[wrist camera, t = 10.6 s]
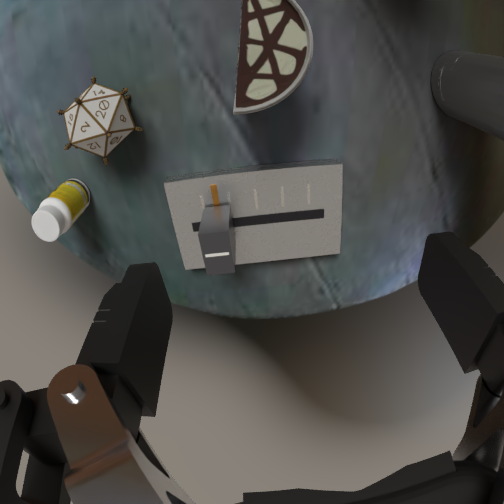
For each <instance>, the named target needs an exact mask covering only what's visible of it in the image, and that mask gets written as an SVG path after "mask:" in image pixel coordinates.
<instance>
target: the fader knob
mask: <svg viewBox="0 0 504 504" xmlns="http://www.w3.org/2000/svg"><path fill="white" fill-rule="evenodd" d="M198 238H199V242H200V247H201V251H202V256H203V260H204V264H205V269H206V273H207V276H209V275H219V274H229V273H235V265H236V240H235V234H234V227H233V221H232V214H231V207H230V205H224V206H216V207H208V208H204V210H203V214H202V218H201V223H200V227H199V232H198Z"/></svg>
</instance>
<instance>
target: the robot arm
mask: <svg viewBox="0 0 504 504" xmlns="http://www.w3.org/2000/svg"><path fill="white" fill-rule="evenodd" d="M431 87H432V92H433V96H434V98H435V100H436V103H437V104H438V106H439V107H440V109H441V110H442V111H443V112H444V113H445V114H447V115H449V116H450V117H452V118H455V119H457V120H460V121H462V122H464V123H467V124H469V125H471V126H473V127H475V128H478V129H480V130H482V131H484V132H486V133H488V134H491V135H493V136H495V137H497V138H499V139H501V140H503V141H504V57H499V56H493V55H486V54H479V53H472V52H462V51H449V52H446V53H444V54H443V55H441V56H440V57H439V58H438V60H437V61H436V63H435V65H434V67H433V70H432V74H431ZM418 286H419V290H420V293H421V295H422V297H423V299H424V300H425V302H426V304H427V305H428V307H429V309H430V310H431V312H432V314H433V316H434V317H435V319H436V321H437V323H438V324H439V326H440V328H441V330H442V331H443V333H444V335H445V337H446V338H447V340H448V342H449V344H450V346H451V348H452V350H453V352H454V354H455V355H456V358H457V359H458V362H459V364H460V365H461V367H462V369H463V371H464V373H468V372H471V371H474V370H477V369H479V370H480V373H481V374H480V376H479V377H478V379H477V383H476V388H475V393H474V397H473V402H472V407H471V411H470V415H469V419H468V423H467V427H466V431H465V434H464V436H463V438H462V440H461V442H460V444H459V445H458V447H457V448H456V450H455V452H454V454H453V456H451V453H450V451H448V452H445V453H442V454H440V455H437V456H434V457H432V458H429V459H426V460H423V461H420V462H417V463H414V464H410V465H407V466H405V467H403V468H402V469H400V470H398V471H396V472H395V473H393V474H391V475H389V476H387V477H386V478H384V479H382V480H380V481H378V482H376V483H374V484H372V485H371V486H368V487H366V488H364V489H362V490H359V491H354V492H344V491H323V490H310V489H299V488H298V489H290V490H281V491H268V492H252V493H243V502H240V503H236V504H504V284H503V282H502V281H501V280H500V279H499V277H498V276H495V273H494V271H493V270H492V269H491V268H490V267H489V268H488V264H487V263H486V262H485V261H484V260H483V259H482V258H481V256H480V255H478V254H477V253H475V252H474V251H472V250H471V249H470V248H468V247H466V246H465V245H464V244H463V243H462V242H461V240H460V239H459V238H458V237H457V236H456V235H455V234H454V233H452V232H443V233H434V234H430V235H429V236H428V237H427V239H426V243H425V248H424V252H423V257H422V262H421V266H420V270H419V274H418ZM98 309H99V311H98V312H97V313H96V315H95V318H94V323H92V325H91V327H90V329H89V332H88V334H87V337H86V339H85V342H84V344H83V346H82V349H81V351H80V354H79V356H78V359H77V362H76V364H75V365H71V366H68V367H66V368H64V369H62V370H60V371H59V372H58V373H57V374H56V375H55V376H54V377H53V379H52V380H51V382H50V384H49V386H48V388H43V389H39V390H34V391H30V392H24V391H23V390H22V389H21V388H20V386H19V385H18V384H17V383H15V382H14V381H11V380H5V381H2V382H0V504H70V502H71V501H72V502H73V504H195V503H194V501H193V500H192V499H191V498H190V497H189V496H188V494H187V493H186V492H185V491H184V490H183V489H182V488H181V487H180V486H179V485H178V484H177V482H176V481H175V480H174V478H173V477H172V476H171V474H170V473H169V472H168V470H167V469H166V467H165V466H164V464H163V463H162V461H161V460H160V459H159V457H158V456H157V454H156V453H155V451H154V450H153V448H152V447H151V445H150V443H149V442H148V440H147V439H146V437H145V435H144V434H143V432H142V431H141V429H140V428H139V426H140V420H141V416H151V417H155V415H156V409H157V403H158V397H159V391H160V385H161V379H162V374H163V368H164V363H165V356H166V352H167V346H168V341H169V336H170V331H171V326H172V317H173V316H172V307H171V302H170V299H169V297H168V294H167V291H166V288H165V285H164V282H163V279H162V276H161V273H160V270H159V267H158V265H157V264H156V263H155V262H152V263H143V264H133V265H130V266H129V267H128V269H127V271H126V274H125V276H124V278H123V280H122V283H116V284H115V285H114V286H113V287H112V288H111V289H110V290H109V291H108V292H107V293H106V294H105V295H104V297H103V299H102V302H101V304H100V306H99V308H98ZM23 450H24V451H25V452H27V453H28V454H30V455H29V459H28V464H27V469H26V474H25V479H24V484H23V490H22V495H21V497H19V495H18V493H17V491H16V479H17V474H18V469H19V465H20V460H21V456H22V452H23Z"/></svg>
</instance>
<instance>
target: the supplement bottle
mask: <svg viewBox="0 0 504 504" xmlns="http://www.w3.org/2000/svg"><path fill="white" fill-rule="evenodd" d="M89 203H90V192H89V190H88V188H87V186H86V185H85V184H84V183H83V182H82V181H80V180H78V179H68V180H66V181H65V182H64V183H62V184H61V185H60V186H59V187H58V188H57V189H56V190H54V191H53V192H52V193H51V194H50V195H49V196H48V197H47V198H45V199H44V200H43V202H42V203H41V204H40V207H39V209H38V210H37V211H36V212H35V213H34V215H33V217H32V227H33V230H34V232H35V233H36V234H37V235H38V237H40V238H41V239H42V240H45V241H49V242H51V241H54V240H56V239H57V238H58V237H59V236H60V235H61V234H63V233H65V232H66V231H68V230H69V228H70V227H71V226H72V225H73V223H74V222H75V221H76V220H77V219H78V218H79V216H80V215H81V214H82V213H83V212H84V211H85V209H86V208H87V207H88V205H89Z"/></svg>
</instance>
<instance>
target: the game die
mask: <svg viewBox="0 0 504 504" xmlns="http://www.w3.org/2000/svg"><path fill="white" fill-rule="evenodd" d="M91 80H92V81H91V82H92V83H93V84H92V85H91V86H90V87H89V88H88V89H87V90H85V91H84V92H83V93H82V94H81V95H80V96H79V97H78V98H75V101H74V102H73V103H72V104H71V105H70V106H69V107H68V108H67V109H66V110H65V111H63V110H59V111H57V112H58V113H59V115H60V114H61V115H62V114H64V118H65V123H66V128H67V133H68V138H69V142H70V143H69V144H67V145H65V149H64V150H68V149H69V148H70V147H71V145H72V146H74V147H75V148H80V149H82V150H85V151H88V152H90V153H93V154H95V155H98V156H101V157H103V163H104V164H105V165H106V166H107V163H108V159H107V158H106V157H107V156H108V155H109V154H110V153H111V152H112V151H113V150H114V149H115V148H116V147H117V146H118V145H119V144H120V143H121V142H122V141H123V140H124V139H125V138H126V137H127V136H128V135H129V134H130V133H131V132H132V131H133V130H137V131H142V128H141V127H135V124H134V121H133V118H132V116H131V113H130V110H129V107H128V104H127V101H126V100H128V99H130V95H126V96H124V94H126V93H127V90H128V88H123V90H122V92H119V91H116V90H113V89H111V88H108V87H105V86H102V85H99V84H96V78H95V77H94V76H93V77H92V79H91Z"/></svg>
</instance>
